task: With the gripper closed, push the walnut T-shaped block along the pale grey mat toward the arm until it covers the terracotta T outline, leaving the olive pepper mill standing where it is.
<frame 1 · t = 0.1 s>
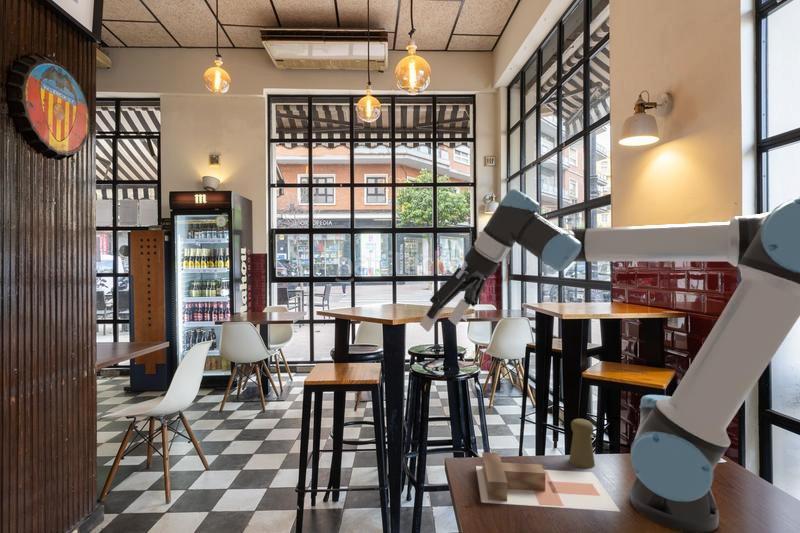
hand: (438, 324, 102), 36 cm above the table, tool tilted 35°, fingers open, 13 cm apart
olive pepper mill: (581, 464, 106), on the table
t block: (509, 484, 95), resting on mat
mat: (540, 487, 94), on the table
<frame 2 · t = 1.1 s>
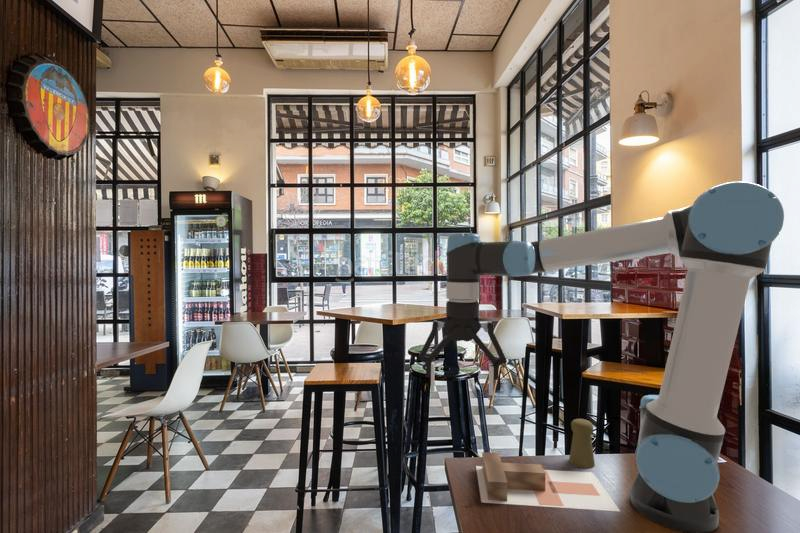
hand: (461, 392, 96), 21 cm above the table, tool pointing down, fingers open, 13 cm apart
nothing on the table moved.
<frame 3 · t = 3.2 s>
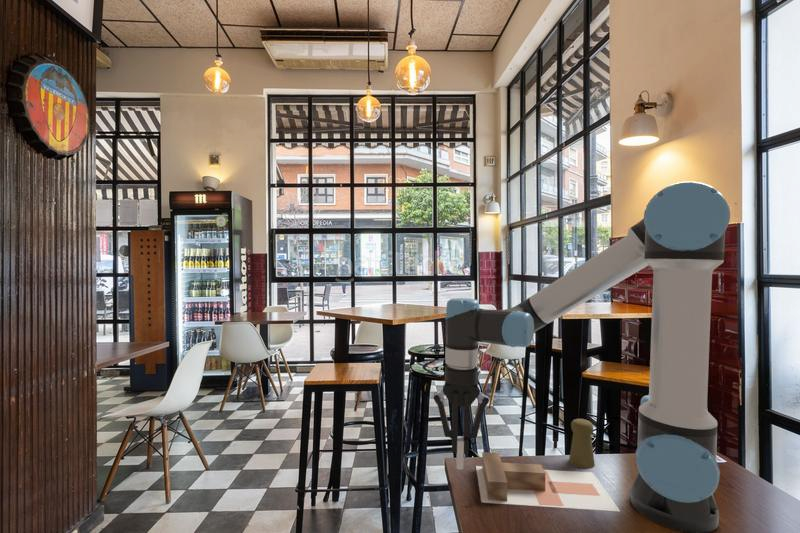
hand: (459, 466, 96), 4 cm above the table, tool pointing down, fingers closed
nothing on the table moved.
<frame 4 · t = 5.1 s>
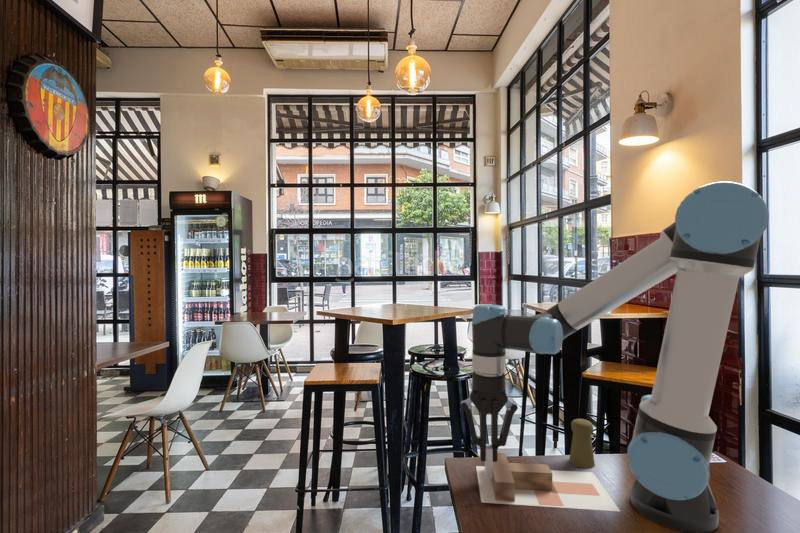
hand: (488, 474, 95), 2 cm above the table, tool pointing down, fingers closed
t block: (516, 484, 95), resting on mat
everything else where it was.
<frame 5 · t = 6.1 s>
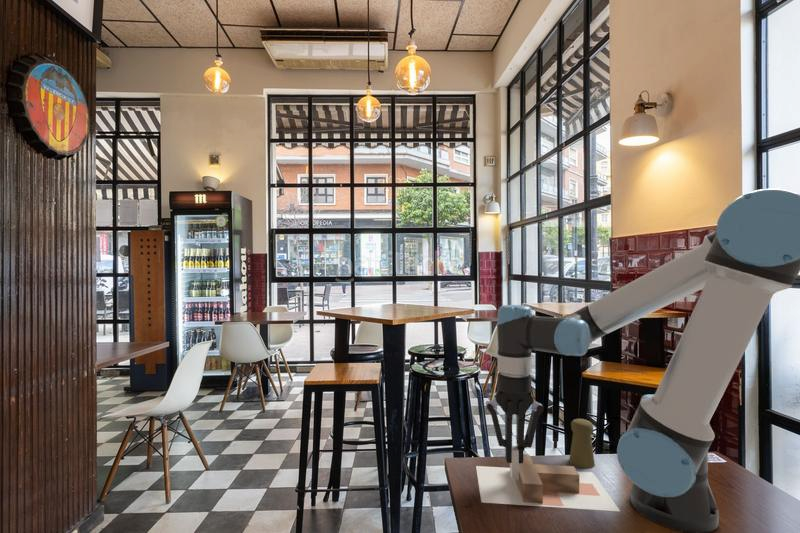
hand: (514, 476, 95), 2 cm above the table, tool pointing down, fingers closed
t block: (542, 486, 94), resting on mat
everything else where it was.
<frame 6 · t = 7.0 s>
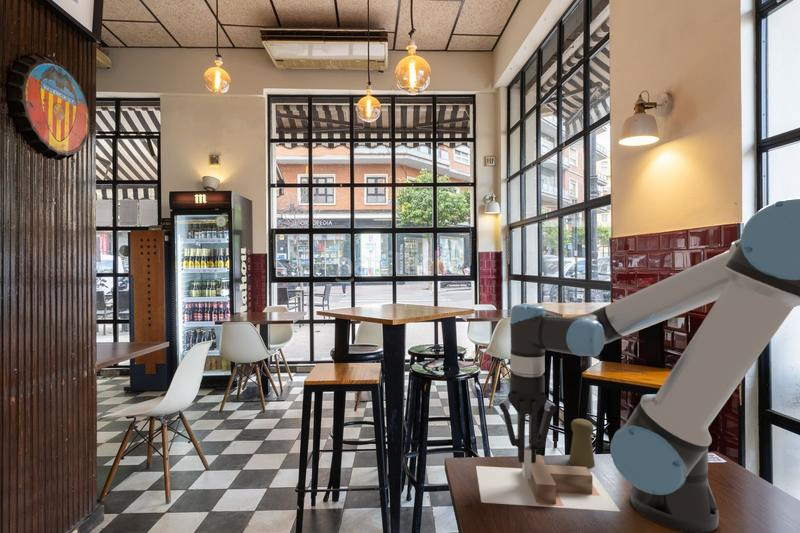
hand: (526, 476, 95), 2 cm above the table, tool pointing down, fingers closed
t block: (554, 486, 94), resting on mat, touching gripper
everything else where it was.
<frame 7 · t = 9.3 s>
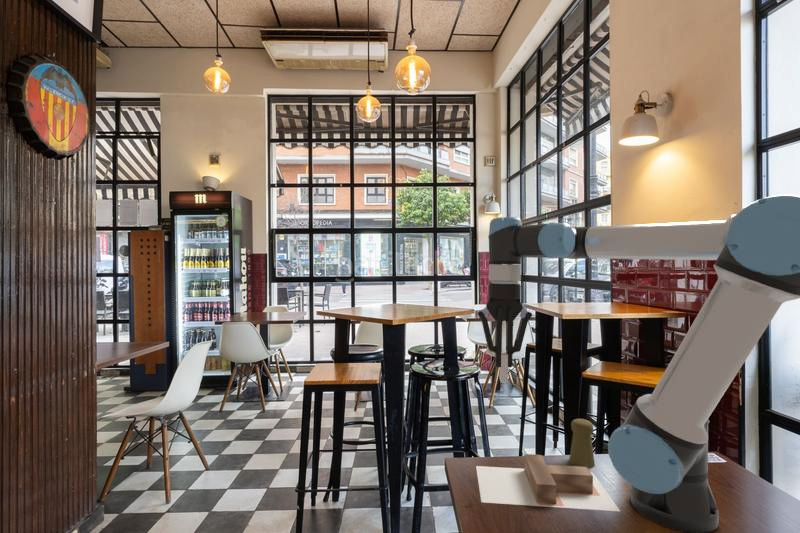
hand: (503, 380, 100), 23 cm above the table, tool pointing down, fingers closed
t block: (555, 486, 94), resting on mat
everything else where it was.
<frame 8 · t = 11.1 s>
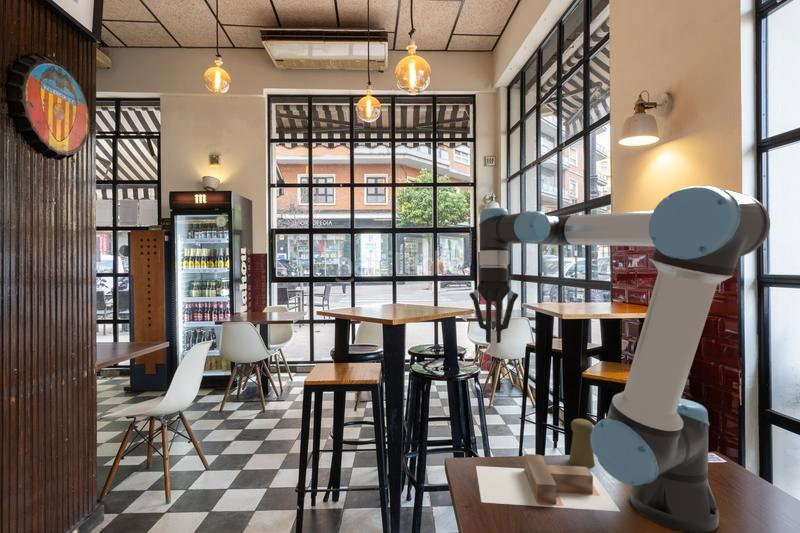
hand: (493, 354, 111), 26 cm above the table, tool pointing down, fingers closed
nothing on the table moved.
at the end: t block 0.9 cm from the target spot, resting on mat; t block tilted 0°; t block moved 10.1 cm from its start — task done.
